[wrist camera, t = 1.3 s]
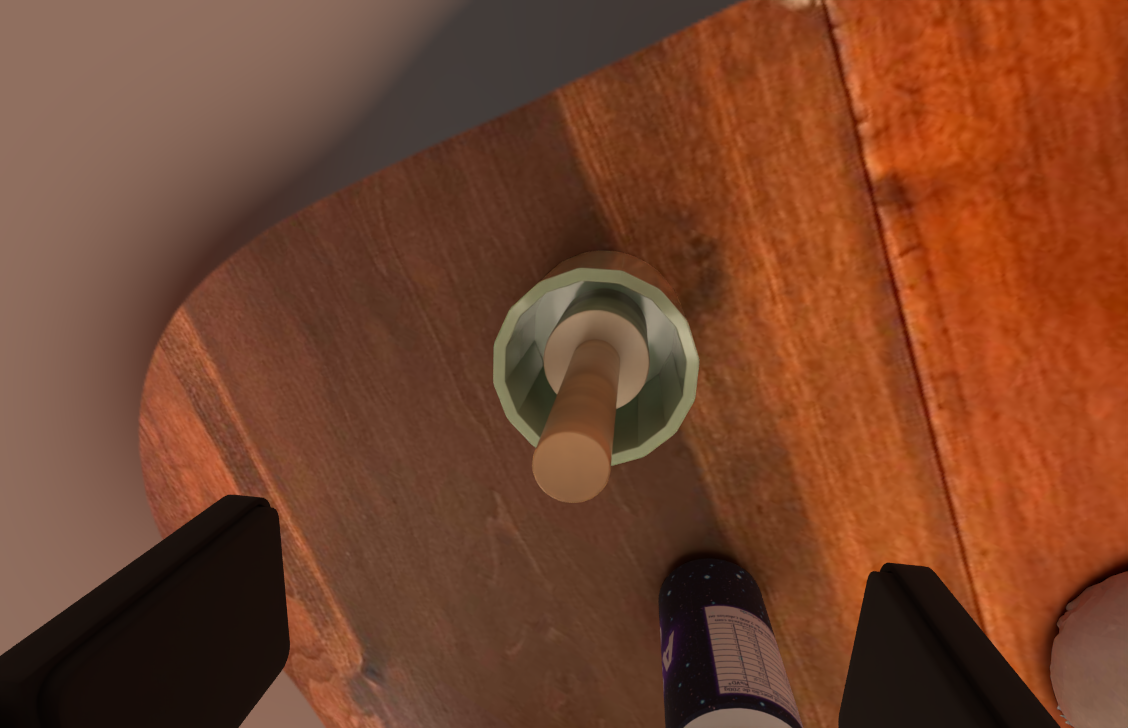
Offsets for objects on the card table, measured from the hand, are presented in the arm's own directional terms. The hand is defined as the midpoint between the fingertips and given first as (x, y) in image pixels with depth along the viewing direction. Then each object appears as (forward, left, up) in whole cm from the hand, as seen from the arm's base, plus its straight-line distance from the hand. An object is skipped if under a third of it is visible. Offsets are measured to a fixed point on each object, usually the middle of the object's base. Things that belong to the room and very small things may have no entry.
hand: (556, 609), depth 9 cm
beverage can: (+15, +7, -23) cm, 28 cm away
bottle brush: (0, 0, -22) cm, 22 cm away
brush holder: (0, 0, -22) cm, 22 cm away
